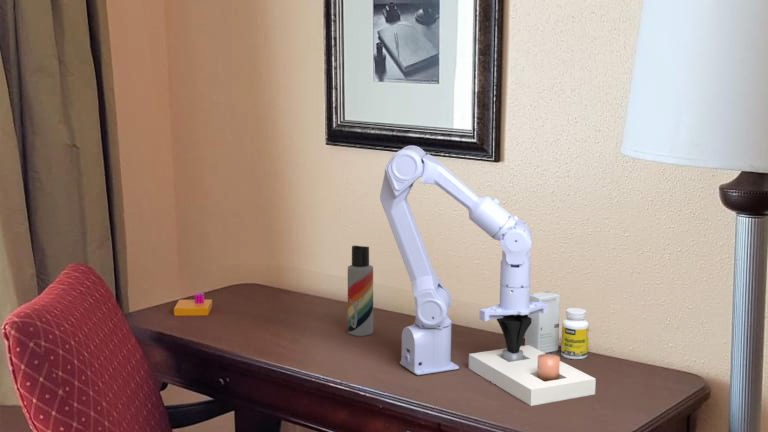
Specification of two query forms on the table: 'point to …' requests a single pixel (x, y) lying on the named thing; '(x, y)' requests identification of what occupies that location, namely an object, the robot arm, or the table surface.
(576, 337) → the supplement bottle
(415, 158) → the robot arm
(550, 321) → the skincare box
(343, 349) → the table surface
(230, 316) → the table surface
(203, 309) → the yellow slab with magenta
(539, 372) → the button near
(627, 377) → the table surface
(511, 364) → the white board with holes
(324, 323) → the table surface
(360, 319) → the lotion bottle
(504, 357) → the button far
